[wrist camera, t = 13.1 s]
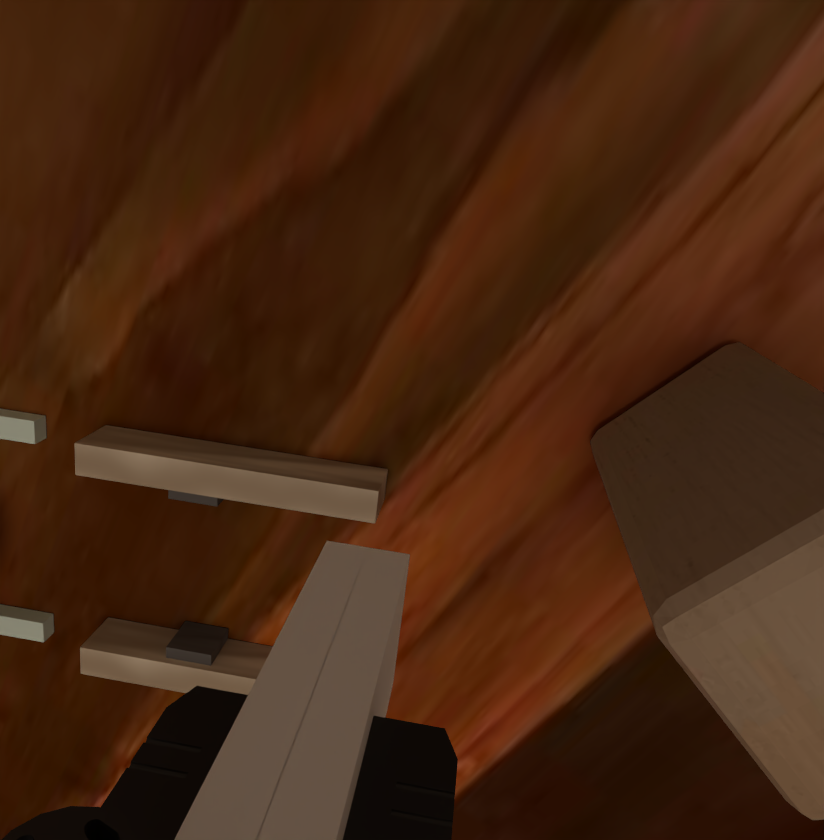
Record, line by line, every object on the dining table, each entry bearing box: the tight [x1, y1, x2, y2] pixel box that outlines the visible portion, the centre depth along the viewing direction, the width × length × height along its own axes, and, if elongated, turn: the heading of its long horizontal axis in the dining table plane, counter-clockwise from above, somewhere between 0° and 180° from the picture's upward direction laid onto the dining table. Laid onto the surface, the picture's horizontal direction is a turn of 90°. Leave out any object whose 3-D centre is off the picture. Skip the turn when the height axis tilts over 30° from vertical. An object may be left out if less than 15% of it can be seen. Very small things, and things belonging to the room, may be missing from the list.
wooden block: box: [590, 342, 824, 820], centre depth 32 cm, size 10×10×20 cm
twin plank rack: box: [75, 425, 388, 695], centre depth 45 cm, size 16×18×4 cm
